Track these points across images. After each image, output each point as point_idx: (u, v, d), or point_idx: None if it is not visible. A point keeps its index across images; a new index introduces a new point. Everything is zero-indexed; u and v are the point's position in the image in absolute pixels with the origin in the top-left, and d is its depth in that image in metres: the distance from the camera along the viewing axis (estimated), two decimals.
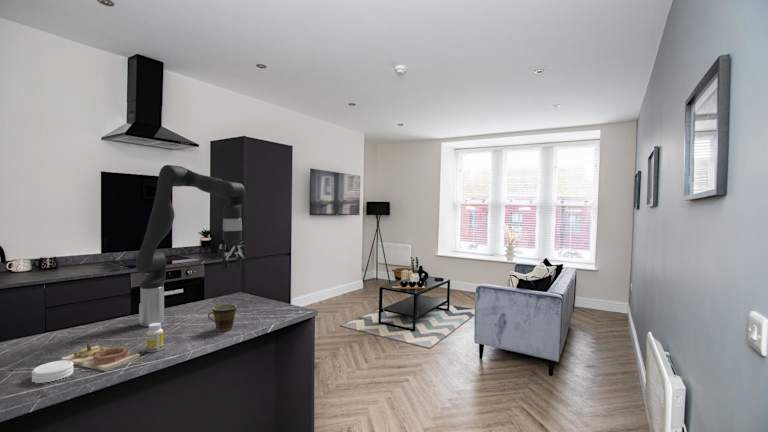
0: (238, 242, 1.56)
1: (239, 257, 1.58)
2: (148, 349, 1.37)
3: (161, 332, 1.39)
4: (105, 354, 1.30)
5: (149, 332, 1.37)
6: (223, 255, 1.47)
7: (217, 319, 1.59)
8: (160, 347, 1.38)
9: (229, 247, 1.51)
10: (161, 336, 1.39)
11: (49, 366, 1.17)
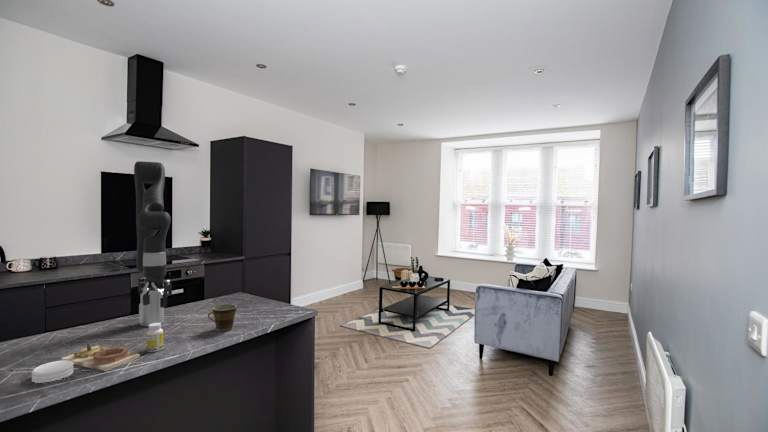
0: None
1: (147, 295, 1.40)
2: (148, 349, 1.37)
3: (161, 332, 1.39)
4: (105, 354, 1.30)
5: (149, 332, 1.37)
6: None
7: (217, 319, 1.59)
8: (160, 347, 1.38)
9: None
10: (161, 336, 1.39)
11: (49, 366, 1.17)
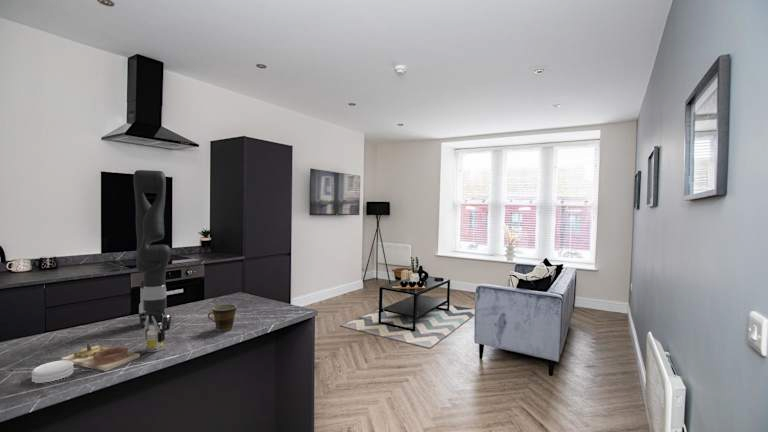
0: None
1: None
2: (148, 349, 1.37)
3: None
4: (105, 354, 1.30)
5: (149, 332, 1.37)
6: None
7: (217, 319, 1.59)
8: (160, 347, 1.38)
9: None
10: None
11: (49, 366, 1.17)
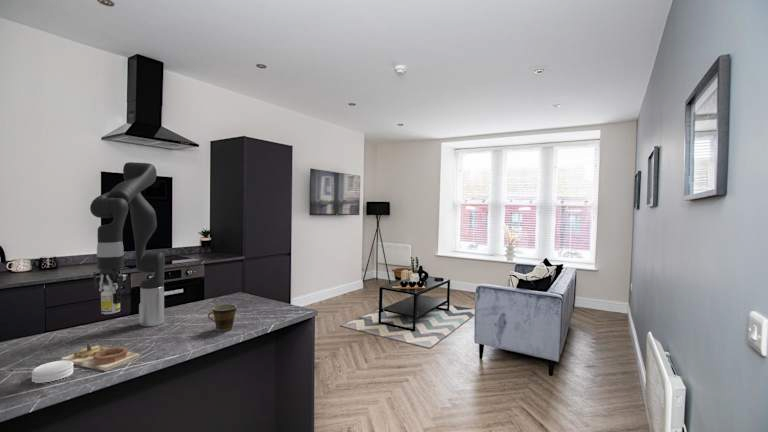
0: None
1: None
2: (102, 311, 1.26)
3: None
4: (105, 354, 1.30)
5: (103, 292, 1.26)
6: None
7: (217, 319, 1.59)
8: (116, 309, 1.27)
9: None
10: None
11: (49, 366, 1.17)
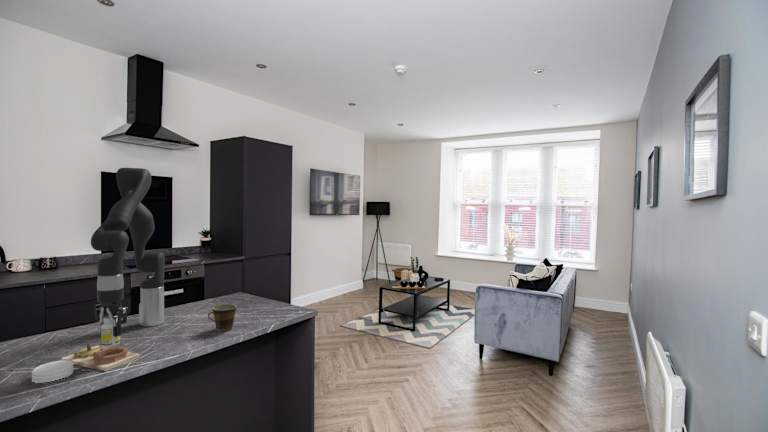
0: None
1: None
2: (102, 344, 1.26)
3: None
4: (105, 354, 1.30)
5: (103, 325, 1.26)
6: None
7: (217, 319, 1.59)
8: (116, 342, 1.27)
9: None
10: None
11: (49, 366, 1.17)
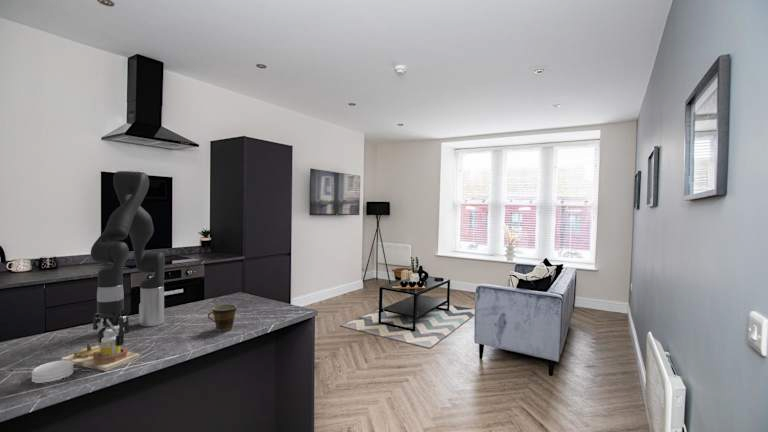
0: None
1: (103, 331, 1.30)
2: None
3: None
4: None
5: (104, 339, 1.26)
6: None
7: (217, 319, 1.59)
8: None
9: None
10: None
11: (49, 366, 1.17)
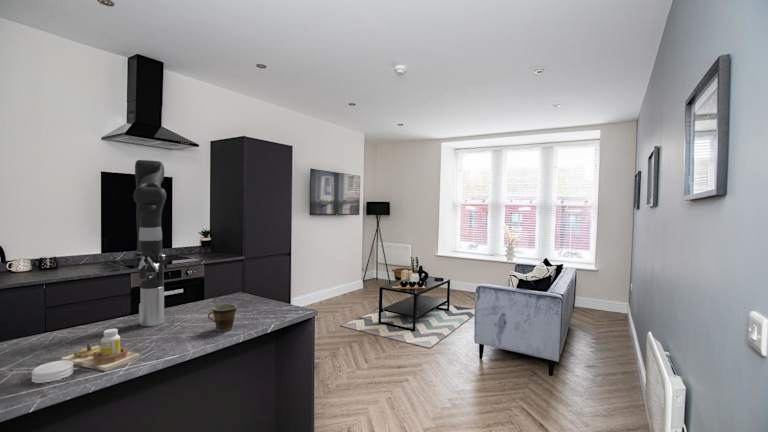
0: None
1: (144, 269, 1.43)
2: None
3: (117, 339, 1.28)
4: None
5: (104, 339, 1.26)
6: None
7: (217, 319, 1.59)
8: None
9: None
10: (117, 343, 1.28)
11: (49, 366, 1.17)
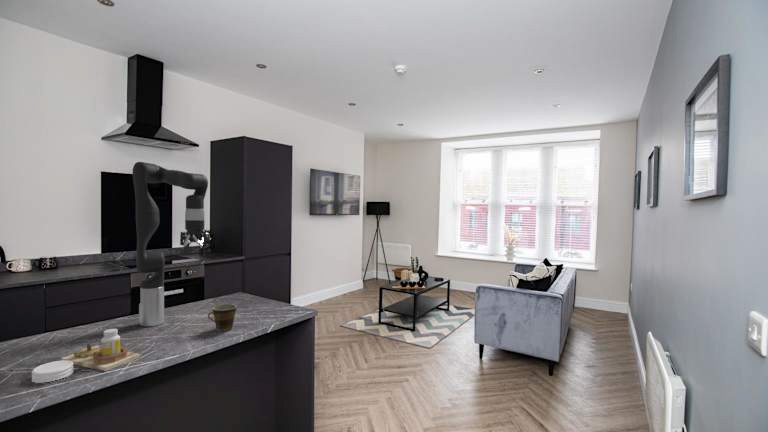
0: None
1: (188, 246, 1.61)
2: None
3: (117, 339, 1.28)
4: None
5: (104, 339, 1.26)
6: None
7: (217, 319, 1.59)
8: None
9: None
10: (117, 343, 1.28)
11: (49, 366, 1.17)
